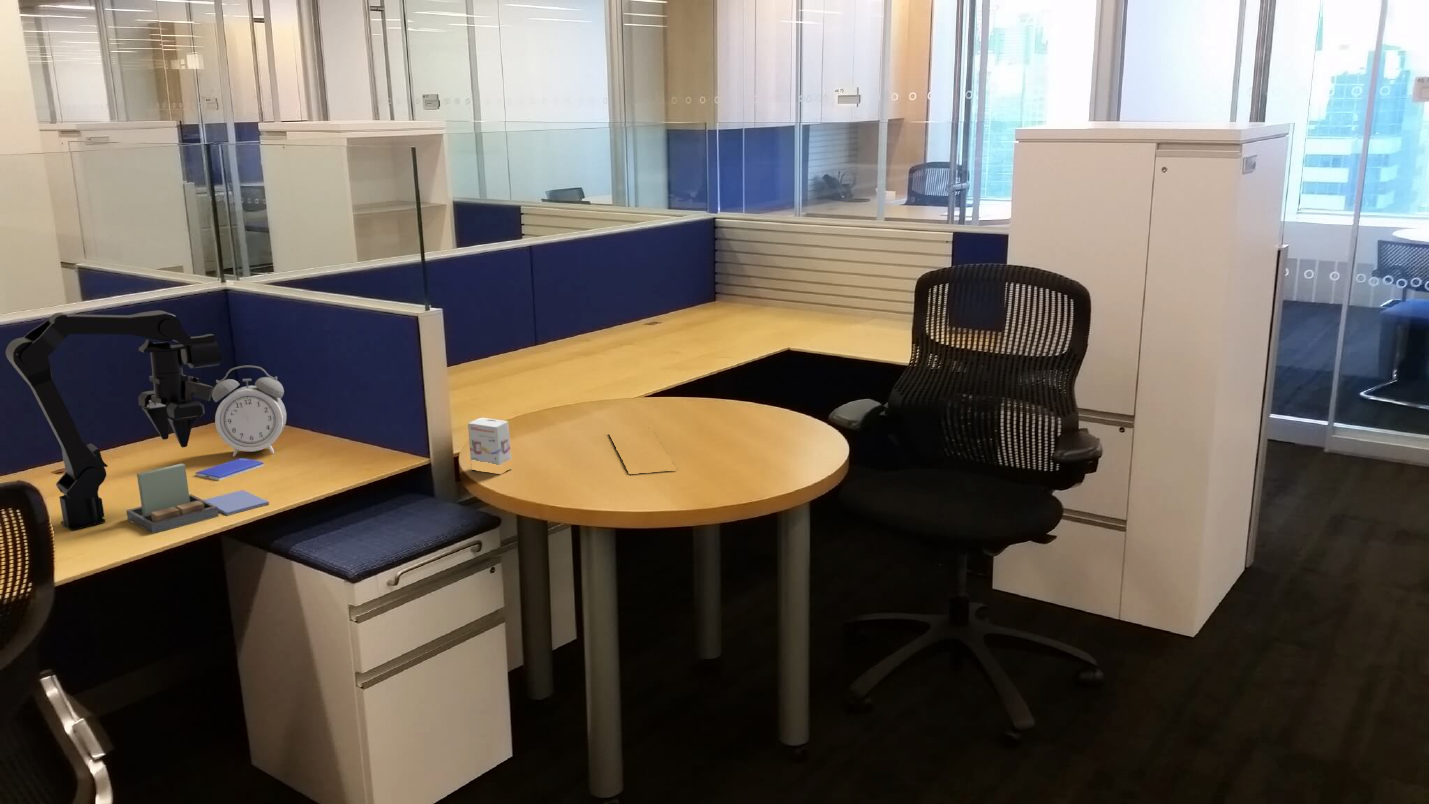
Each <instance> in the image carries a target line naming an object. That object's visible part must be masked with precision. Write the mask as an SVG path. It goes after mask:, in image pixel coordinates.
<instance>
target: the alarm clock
mask: <svg viewBox="0 0 1429 804" xmlns="http://www.w3.org/2000/svg"><path fill="white" fill-rule="evenodd" d="M242 368H243V369H244V368H253V369H259V370H261V371H262V372H264V374H265V375H266V376H262V377H259V378H258V379H256V380H255V382H254V385H249V382H252V378H242V382H245V385H246V386H242V387H240V388H238V387H239V386H240V383H239V381H237V380H235V379H231V378H228V379H226V378H227V377H228V375H229V373H231V372H232V371H233V370H237V369H242ZM215 383H216V385H215V386H213V390H212V394H211V397H212V399H213V401H214V402H215V403H217V402H219V401H220V400H222V401H221V402H220V403H219V405H218V407H217V409H216V412H215V417H214V421H215V422H214V424H215V428H216V432H217V434H218V435H219V437H220V439H221V440H222V441H223V442H224V443H226V444H227V445H228V446H230V447H231V448H233V454H232V457H236V455H237V453H239V451H240V452H241V451H242V452H250V453H251V452H258V451H261V450H264V449H266V448H267V449H268V450H269V451H270V453H272V454H273V455H274V454H275V451H274V448H273V446H272V444H273V443H275V442H276V441H277V440H278V438H279V437H280V435H281V433H282V432H283V431H284V429H285V426H286V423H287V410H286V407H285V404H284V403H283V400H282V398H283V396H284V393H285V390H284V387H283V384H282V383H281V382H280V381H278V376H274V377H273V376H272V375H270V374H269V373H268V372H267V371H266V370H265V369H264V368H262V366H256V365H240V366H236V367H233V368H230V369H229V370H228V371H227V372H226V373H225V376H224V377H223V378H222V379H220V380H218V379H216V380H215ZM225 396H226V397H225ZM224 397H225V398H224ZM222 398H223V399H222Z"/></svg>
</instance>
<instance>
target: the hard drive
mask: <svg viewBox="0 0 1429 804" xmlns="http://www.w3.org/2000/svg"><path fill="white" fill-rule="evenodd" d="M264 466H265V464H264V462H263V461H260V460H256V459H249V458H244V457H239V458H236V459H233V460H230V461H227V462H223V463H221V464H218V465H215V466H211V467H208V468H206V469H202V470H199V471H196V472H195V476H196V477H200V478H205V479H210V480H215V481H221V480H222V481H223V480H225V479H228V478H231V477H235V476H238V475H240V474H243V473H247V472H249V471H252V470H255V469H259V468H262V467H264Z"/></svg>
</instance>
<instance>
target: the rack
mask: <svg viewBox="0 0 1429 804" xmlns="http://www.w3.org/2000/svg"><path fill="white" fill-rule="evenodd" d="M189 498H190V502H194V501H199V502H201V503H203V504H204V508H205V509H202V510H198V511H194V512H190V513H186V514H182V515H179V516H175V517H171V518H167V519H163V520H159V521H155V522H152V518H151V514H147V515H143V512H142V506H138V507H134V508H130V509H126V510H125V511H126V518H127V519H126V520H128V521H129V522H131V523H133V524H135V525H136V526H138V527H140V528H141V529H144V530H146V531H147V532H148V533H151V534H157V533H160V532H166V531H168V530H172V529H175V528H179V527H183V526H187V525H190V524H191V525H192V524H195V523H198V522H201V521H206V520H208V519H209V520H210V519H213V518H216V517H217V518H218V517H219V516H220V515H219V511H218V507H216V506H214V505H212V504H210V503H208V502H206V501H204V499H202V498H200V497H198V496H196V495H194V494H191V493H189ZM175 508H176V507H175Z"/></svg>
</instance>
